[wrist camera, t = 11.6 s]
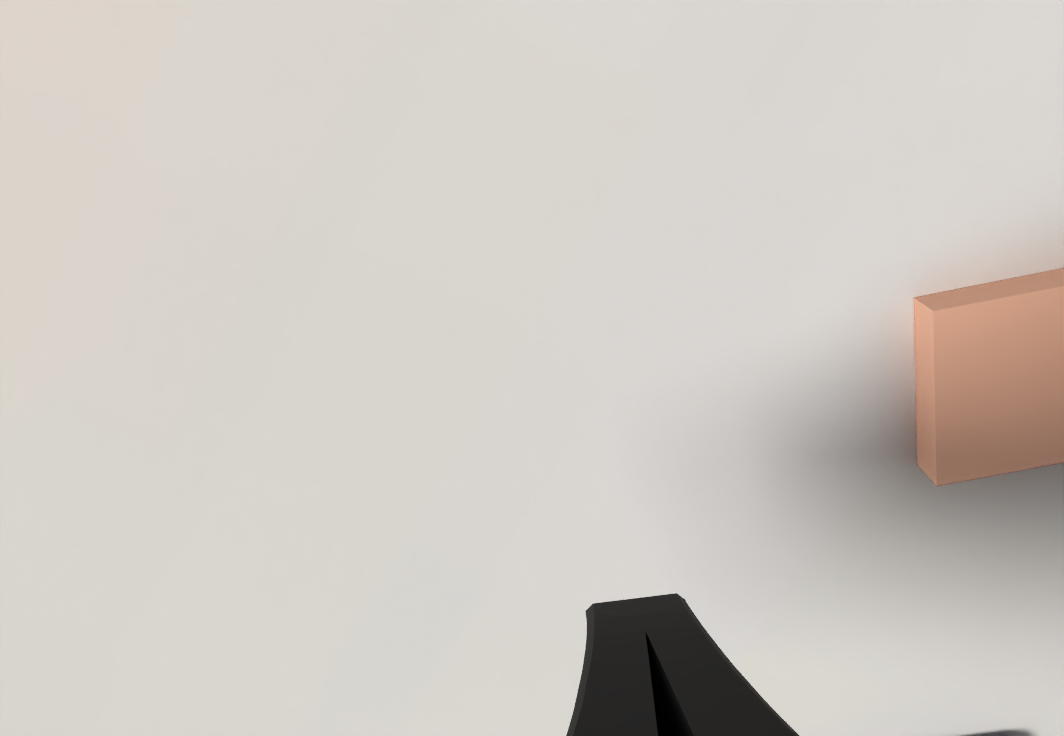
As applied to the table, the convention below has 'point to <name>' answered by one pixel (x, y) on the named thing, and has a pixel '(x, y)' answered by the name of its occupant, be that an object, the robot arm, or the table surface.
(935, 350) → the domino
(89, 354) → the table surface
